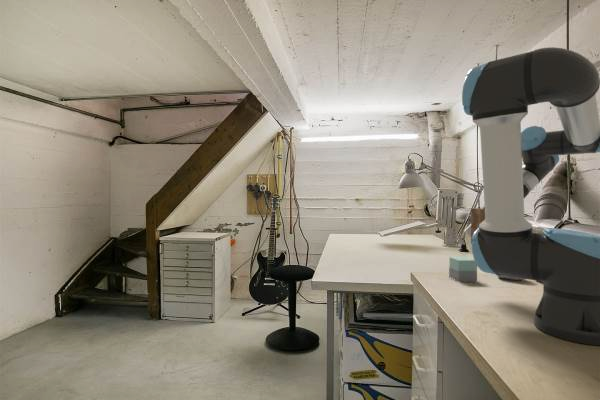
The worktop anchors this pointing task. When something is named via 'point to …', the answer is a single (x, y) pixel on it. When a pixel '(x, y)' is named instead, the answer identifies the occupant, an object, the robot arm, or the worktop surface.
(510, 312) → the worktop surface
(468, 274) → the tower base
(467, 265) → the tower mid
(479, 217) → the walnut post
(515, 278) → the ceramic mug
